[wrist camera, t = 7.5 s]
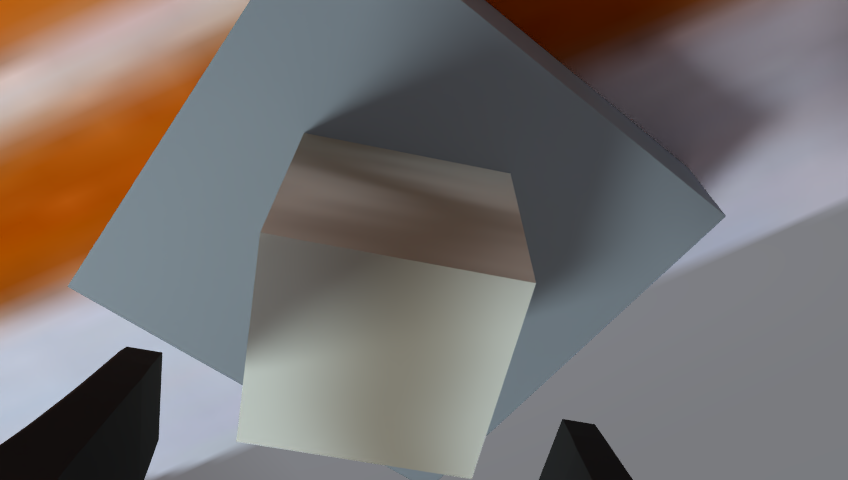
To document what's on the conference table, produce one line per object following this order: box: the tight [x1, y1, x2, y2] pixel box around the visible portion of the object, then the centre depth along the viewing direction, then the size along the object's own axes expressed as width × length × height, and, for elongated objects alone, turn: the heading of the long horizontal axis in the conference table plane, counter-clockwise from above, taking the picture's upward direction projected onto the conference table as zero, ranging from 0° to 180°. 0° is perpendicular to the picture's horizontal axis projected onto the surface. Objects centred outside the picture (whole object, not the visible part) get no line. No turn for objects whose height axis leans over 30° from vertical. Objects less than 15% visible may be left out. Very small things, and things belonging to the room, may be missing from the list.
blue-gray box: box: [68, 0, 726, 480], centre depth 20 cm, size 12×12×3 cm
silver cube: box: [236, 133, 536, 479], centre depth 17 cm, size 5×5×5 cm
